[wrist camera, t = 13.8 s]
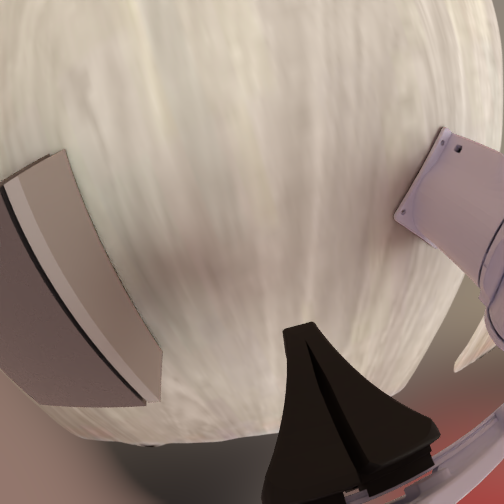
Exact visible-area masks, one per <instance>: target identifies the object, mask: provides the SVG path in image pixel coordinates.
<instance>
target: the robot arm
mask: <svg viewBox="0 0 504 504" xmlns="http://www.w3.org/2000/svg"><path fill="white" fill-rule="evenodd" d="M441 141H442V142H441ZM402 210H403V212H402ZM401 212H402V213H401ZM394 219H395V221H397V222H398V223H400V224H401V225H403V226H404V227H406V228H407V229H409V230H410V231H411V232H413V233H414V234H416V235H417V236H419V237H420V238H422V239H423V240H424V241H426V242H427V243H429V244H430V245H431V246H433V247H434V248H439V249H440V250H441V251H442V252H443V253H444V254H445V255H447V256H448V257H449V258H450V259H451V260H452V261H453V262H454V263H455V264H456V265H457V266H458V267H459V268H460V269H461V270H462V271H463V272H464V273H465V274H466V275H467V276H468V277H469V278H470V279H471V280H472V281H473V282H474V283H475V284H476V285H477V286H478V287H479V288H480V289H481V292H480V295H479V299H480V300H481V302H482V303H483V304H484V305H485V306H486V309H485V314H484V318H485V324H486V328H487V330H488V333H489V335H490V337H491V338H492V340H493V341H494V342H495V344H496V345H497V346H498V347H499V348H500V349H501V350H503V351H504V154H502V153H500V152H498V151H496V150H494V149H491V148H489V147H487V146H484V145H482V144H480V143H477V142H475V141H472V140H470V139H467V138H465V137H462V136H459V135H456V134H454V133H452V132H451V130H450V129H449V128H447V127H443V128H442V129H441V132H440V134H439V136H438V138H437V140H436V142H435V143H434V145H433V147H432V149H431V151H430V153H429V155H428V157H427V159H426V161H425V162H424V164H423V166H422V168H421V170H420V172H419V173H418V175H417V177H416V179H415V180H414V182H413V184H412V186H411V187H410V189H409V191H408V192H407V194H406V196H405V197H404V199H403V201H402V202H401V204H400V206H399V207H398V209H397V211H396V212H395V214H394ZM283 338H284V346H285V353H286V358H287V382H286V394H285V403H284V409H283V415H282V420H281V425H280V430H279V435H278V438H277V442H276V446H275V449H274V453H273V456H272V459H271V462H270V465H269V467H268V470H267V473H266V476H265V481H264V485H263V490H262V496H261V500H262V504H362V503H365V502H367V501H370V500H372V499H375V498H377V497H379V496H382V495H384V494H386V493H388V492H390V491H393V490H395V489H397V488H399V487H401V486H403V485H405V484H407V483H409V482H411V481H413V480H415V479H416V478H418V477H420V476H422V475H424V474H425V473H427V472H429V471H431V470H432V469H433V471H432V474H431V475H429V476H426V477H424V478H422V479H420V480H419V481H417V482H415V483H413V484H412V485H410V486H408V487H406V488H405V489H404V491H405V495H403V496H401V497H399V498H397V499H395V500H392V501H390V502H388V503H385V504H456V503H457V502H458V501H460V500H461V499H462V498H463V497H464V496H466V495H467V494H468V493H469V492H470V491H471V490H472V489H473V488H475V486H477V485H478V484H479V483H480V482H481V481H482V480H483V479H484V478H485V477H486V476H487V475H488V474H489V473H490V472H491V471H492V470H493V469H494V468H495V467H496V466H497V465H498V464H499V463H500V462H501V460H502V459H503V458H504V403H503V404H502V405H501V406H500V407H499V408H498V409H497V410H495V412H493V413H492V414H491V415H490V416H489V417H487V418H486V419H485V420H484V421H482V422H481V423H480V424H479V425H478V426H477V427H475V428H474V429H473V430H472V431H470V432H469V433H467V434H466V435H465V436H463V437H462V438H460V439H459V440H458V441H456V442H455V443H453V444H452V445H450V446H449V447H447V448H445V449H444V450H442V451H441V452H439V453H438V454H436V455H434V456H433V457H431V455H430V452H431V447H430V444H431V443H433V442H434V441H435V440H437V439H438V438H439V437H440V435H441V434H440V432H439V430H438V428H437V427H436V425H435V424H434V422H433V421H432V420H431V419H430V418H429V417H426V416H424V415H422V414H420V413H418V412H416V411H413V410H412V409H410V408H408V407H406V406H405V405H403V404H401V403H399V402H398V401H396V400H395V399H393V398H392V397H390V396H389V395H387V394H385V393H384V392H383V391H381V390H380V389H378V388H377V387H376V386H374V385H373V384H372V383H371V382H369V381H368V380H367V379H366V378H365V377H363V376H362V375H361V374H360V373H359V372H358V371H357V370H356V369H354V368H353V367H352V366H351V365H350V364H349V363H348V362H347V361H346V360H345V359H344V358H343V357H342V356H341V355H340V354H339V352H338V351H337V350H336V349H335V348H334V347H333V346H332V345H331V344H330V342H329V341H328V340H327V339H326V338H325V336H324V335H323V334H322V333H321V331H320V330H319V329H318V327H317V326H316V324H315V323H314V322H309V323H305V324H301V325H298V326H294V327H290V328H286V329H284V330H283ZM358 488H359V491H360V492H357V493H355V494H352V495H349V496H346V497H344V494H343V492H344V491H345V492H346V493H347V492H350V491H352V490H355V489H358Z"/></svg>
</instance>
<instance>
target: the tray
mask: <svg viewBox="0 0 504 504" xmlns="http://www.w3.org/2000/svg"><path fill="white" fill-rule="evenodd" d="M4 187H5V190H6V192H7V195H8V198H9V200H10V203H11V205H12V207H13V210H14V212H15V214H16V217H17V219H18V221H19V223H20V226H21V228H22V230H23V232H24V234H25V236H26V238H27V240H28V242H29V244H30V246H31V248H32V250H33V252H34V254H35V255H36V257H37V259H38V261H39V263H40V264H41V266H42V268H43V270H44V271H45V273H46V275H47V276H48V278H49V280H50V281H51V283H52V285H53V286H54V288H55V289H56V291H57V293H58V294H59V296H60V297H61V299H62V300H63V302H64V303H65V305H66V306H67V308H68V309H69V311H70V312H71V313H72V315H73V316H74V318H75V319H76V320H77V322H78V323H79V325H80V326H81V327H82V329H83V330H84V331H85V333H86V334H87V335H88V336H89V338H90V339H91V340H92V342H93V343H94V344H95V345H96V346H97V348H98V349H99V350H100V351H101V353H102V354H103V355H104V356H105V357H106V359H107V360H108V361H109V362H110V363H111V364H112V365H113V367H114V368H115V369H116V370H117V371H118V372H119V373H120V374H121V375H122V377H123V378H124V379H125V380H126V381H127V382H128V383H129V384H130V385H131V386H132V387H133V388H134V389H135V390H136V391H137V392H138V393H139V394H140V395H141V396H142V397H143V398H144V399H145V400H146V401H147V402H148V403H150V402H161V374H162V355H163V352H162V350H161V349H160V347H159V346H158V344H157V343H156V341H155V340H154V338H153V337H152V335H151V333H150V332H149V330H148V329H147V327H146V325H145V324H144V322H143V320H142V319H141V317H140V315H139V314H138V312H137V310H136V309H135V307H134V305H133V304H132V302H131V300H130V298H129V296H128V295H127V293H126V291H125V289H124V287H123V286H122V284H121V282H120V280H119V278H118V276H117V274H116V272H115V270H114V268H113V266H112V264H111V263H110V261H109V258H108V256H107V254H106V252H105V250H104V248H103V246H102V244H101V242H100V240H99V237H98V235H97V233H96V231H95V229H94V226H93V224H92V222H91V219H90V217H89V215H88V212H87V210H86V207H85V205H84V202H83V200H82V197H81V195H80V192H79V190H78V187H77V184H76V181H75V179H74V176H73V173H72V170H71V167H70V164H69V161H68V158H67V155H66V152H65V149H64V150H62V151H60V152H58V153H56V154H54V155H52V156H50V157H48V158H46V159H45V160H43V161H41V162H39V163H38V164H36V165H34V166H32V167H31V168H29V169H27V170H26V171H24V172H22V173H21V174H19V175H18V176H16V177H15V178H13V179H11V180H10V181H8V182H7V183H5V184H4Z"/></svg>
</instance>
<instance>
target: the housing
mask: <svg viewBox="0 0 504 504" xmlns="http://www.w3.org/2000/svg"><path fill="white" fill-rule="evenodd" d="M48 157H50V154H48V155H46V156H44V157H42V158H40V159H38V160H37V161H35V162H33V163H31V164H30V165H28V166H26V167H24V168H23V169H21V170H19V171H18V172H16V173H14V174H13V175H11V176H10V177H8V178H7V179H5V180H3V181H2V182H0V368H1V369H2V370H3V371H4V372H5V373H6V374H7V375H8V376H9V377H10V378H11V379H12V380H13V381H14V382H15V383H16V384H17V385H18V386H19V387H20V388H22V389H23V390H24V391H25V392H26V393H27V394H28V395H29V396H31V397H32V398H33V399H34V400H35V401H37V402H38V403H39V404H42V405H53V406H68V407H134V406H146V400H145V399H144V398H143V397H142V396H141V395H140V394H139V393H138V392H137V391H136V390H135V389H134V388H133V387H132V386H131V385H130V384H129V383H128V382H127V381H126V380H125V379H124V378H123V377H122V375H121V374H120V373H119V372H118V371H117V370H116V369H115V368H114V367H113V365H112V364H111V363H110V362H109V361H108V360H107V359H106V357H105V356H104V355H103V354H102V353H101V351H100V350H99V349H98V348H97V346H96V345H95V344H94V343H93V342H92V340H91V339H90V338H89V336H88V335H87V334H86V333H85V331H84V330H83V329H82V327H81V326H80V325H79V323H78V322H77V320H76V319H75V318H74V316H73V315H72V313H71V312H70V311H69V309H68V308H67V306H66V305H65V303H64V302H63V300H62V299H61V297H60V296H59V294H58V293H57V291H56V289H55V288H54V286H53V285H52V283H51V281H50V280H49V278H48V276H47V275H46V273H45V271H44V270H43V268H42V266H41V264H40V263H39V261H38V259H37V257H36V255H35V254H34V252H33V250H32V248H31V246H30V244H29V242H28V240H27V238H26V236H25V234H24V232H23V230H22V228H21V226H20V223H19V221H18V219H17V217H16V214H15V212H14V210H13V207H12V205H11V203H10V200H9V198H8V195H7V192H6V190H5V187H4V184H5V183H7V182H8V181H10V180H11V179H13V178H15V177H16V176H18V175H19V174H21V173H22V172H24V171H26V170H27V169H29V168H31V167H32V166H34V165H36V164H38V163H39V162H41V161H43V160H45V159H46V158H48Z"/></svg>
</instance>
